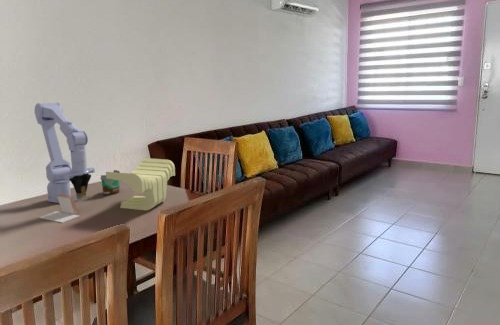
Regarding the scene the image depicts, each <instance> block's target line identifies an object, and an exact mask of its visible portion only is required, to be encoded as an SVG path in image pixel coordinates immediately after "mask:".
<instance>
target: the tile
mask: <svg viewBox="0 0 500 325" xmlns="http://www.w3.org/2000/svg"><path fill="white" fill-rule="evenodd" d="M57 197H58V200H59V203H58V204H59V206H60V209H61V212H63V213H68V214H73V215H78V214H79V212H78V209H77V206H76V203H75V201H74V198H73V195H71V196H70V195H64V194H59V195H57Z"/></svg>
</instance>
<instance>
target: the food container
mask: <svg viewBox="0 0 500 325" xmlns="http://www.w3.org/2000/svg"><path fill="white" fill-rule="evenodd" d="M113 172H116V173H121V171H119V170H116V169H115V170H114V169H113ZM100 180H101V187H102V193H103V196H115V195H117V194H119V193H120V182H121V181H119V180H114V179H106V174H105V175H104V174H101V175H100Z"/></svg>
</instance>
